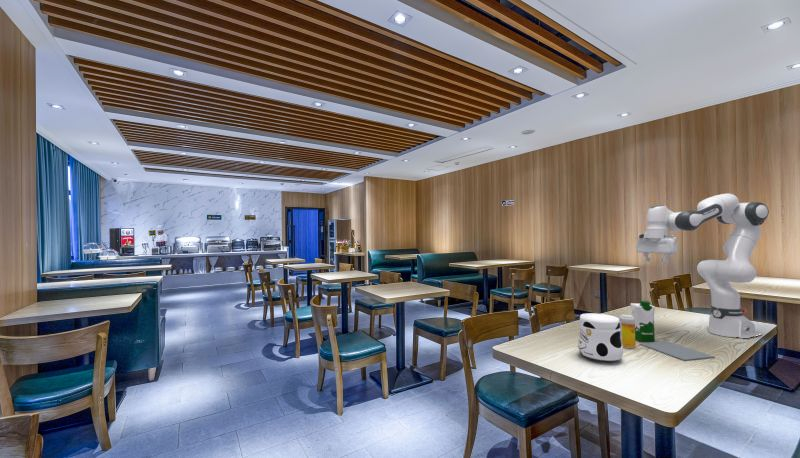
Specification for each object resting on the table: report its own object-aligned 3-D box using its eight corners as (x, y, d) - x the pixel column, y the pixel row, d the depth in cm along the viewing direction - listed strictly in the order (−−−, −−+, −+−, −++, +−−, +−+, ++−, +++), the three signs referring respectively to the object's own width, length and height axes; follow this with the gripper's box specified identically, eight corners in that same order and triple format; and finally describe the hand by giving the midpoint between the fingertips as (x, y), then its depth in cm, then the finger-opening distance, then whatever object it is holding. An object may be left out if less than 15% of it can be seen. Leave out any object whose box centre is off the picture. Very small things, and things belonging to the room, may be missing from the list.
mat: (666, 342, 170) (666, 340, 170) (714, 357, 148) (714, 356, 148) (639, 344, 167) (639, 343, 167) (684, 361, 145) (684, 359, 145)
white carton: (639, 342, 170) (638, 302, 170) (629, 337, 179) (628, 299, 179) (658, 342, 169) (657, 302, 169) (646, 337, 178) (645, 299, 178)
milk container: (569, 354, 156) (568, 314, 156) (597, 349, 162) (596, 311, 162) (604, 368, 140) (602, 324, 140) (633, 361, 146) (632, 319, 146)
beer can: (637, 349, 161) (637, 317, 161) (623, 348, 162) (622, 317, 162) (631, 345, 166) (631, 314, 167) (618, 344, 168) (617, 314, 168)
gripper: (681, 235, 170) (680, 263, 170) (644, 236, 190) (643, 261, 190) (671, 234, 169) (670, 262, 168) (634, 235, 189) (634, 260, 188)
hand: (655, 261), depth 179 cm, fingers open, 8 cm apart
